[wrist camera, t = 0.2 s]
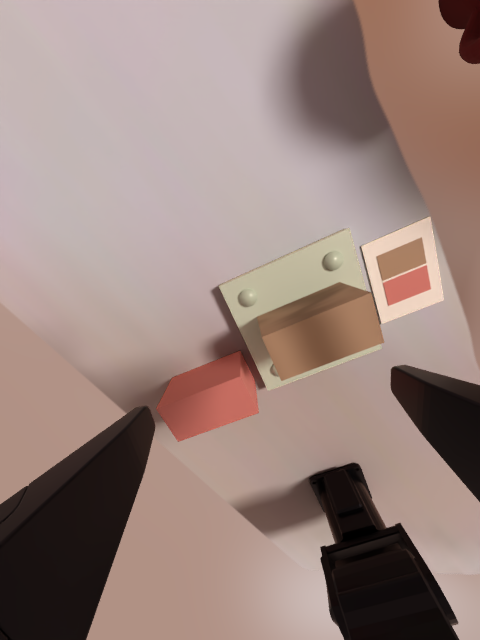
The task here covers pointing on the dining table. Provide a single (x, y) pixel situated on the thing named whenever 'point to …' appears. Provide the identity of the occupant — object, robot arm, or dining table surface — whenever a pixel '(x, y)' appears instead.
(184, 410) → the brick red
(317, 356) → the brick walnut
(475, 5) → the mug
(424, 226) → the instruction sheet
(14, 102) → the dining table surface
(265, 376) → the plate
